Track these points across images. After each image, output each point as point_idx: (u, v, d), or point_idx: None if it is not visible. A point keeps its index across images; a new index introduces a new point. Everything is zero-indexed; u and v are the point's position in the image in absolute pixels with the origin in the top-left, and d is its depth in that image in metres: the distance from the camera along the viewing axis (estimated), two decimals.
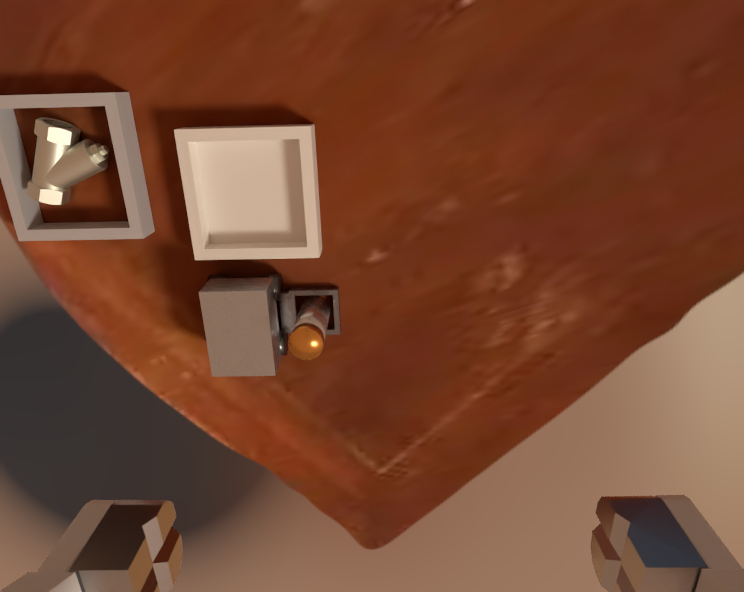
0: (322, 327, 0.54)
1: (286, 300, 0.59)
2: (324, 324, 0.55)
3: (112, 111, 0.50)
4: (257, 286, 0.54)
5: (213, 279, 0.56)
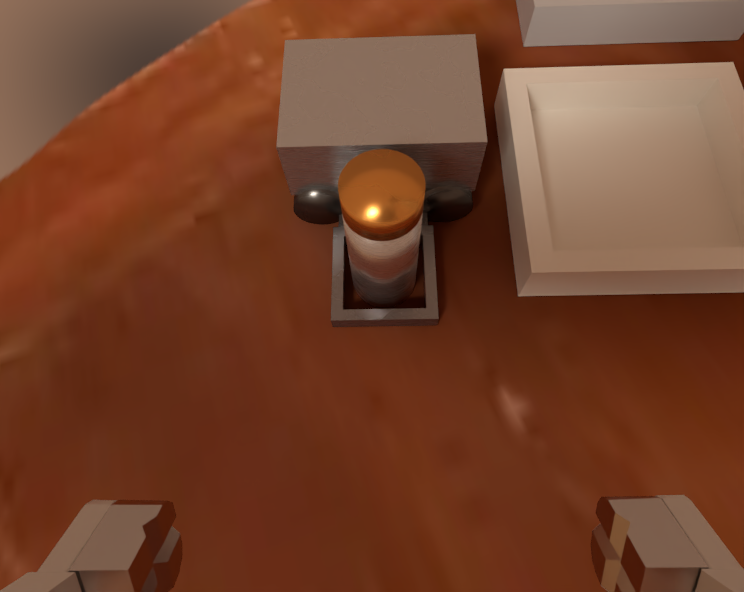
0: (401, 246, 0.22)
1: None
2: (397, 259, 0.23)
3: None
4: None
5: None
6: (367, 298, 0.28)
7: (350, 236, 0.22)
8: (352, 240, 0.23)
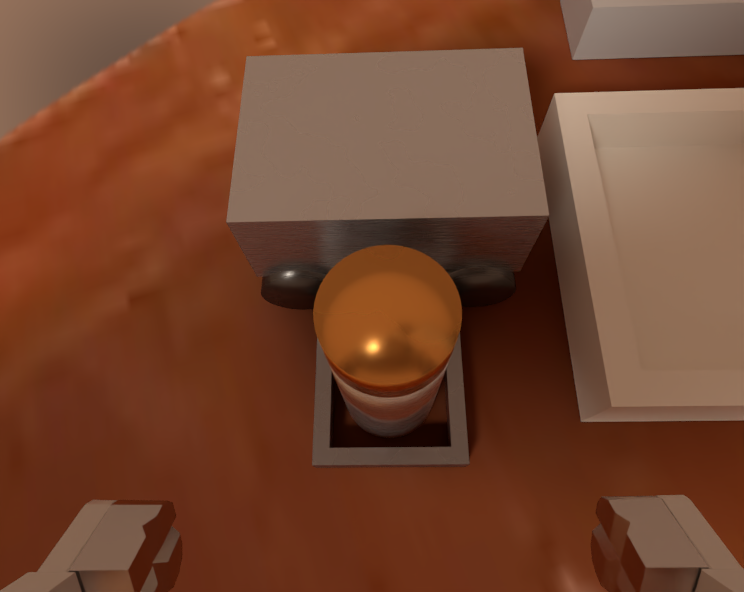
0: (418, 397, 0.14)
1: None
2: (412, 406, 0.15)
3: None
4: None
5: None
6: (366, 428, 0.19)
7: (336, 378, 0.14)
8: (339, 383, 0.14)
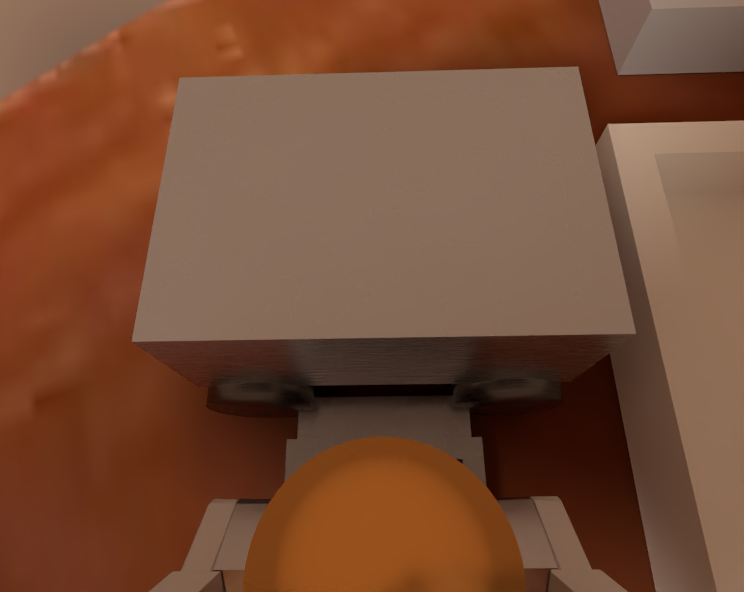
0: None
1: (439, 424, 0.15)
2: None
3: None
4: None
5: None
6: None
7: None
8: None
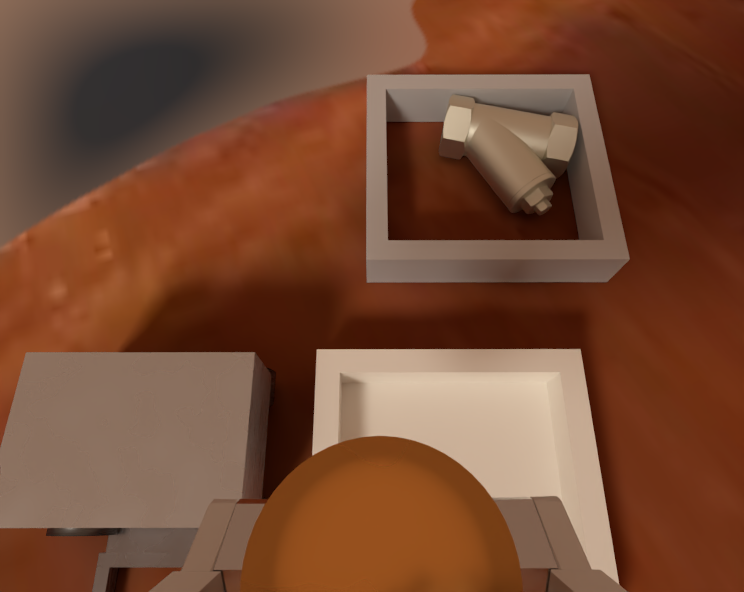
0: None
1: None
2: None
3: (596, 250, 0.28)
4: (249, 495, 0.21)
5: (269, 382, 0.26)
6: None
7: None
8: None
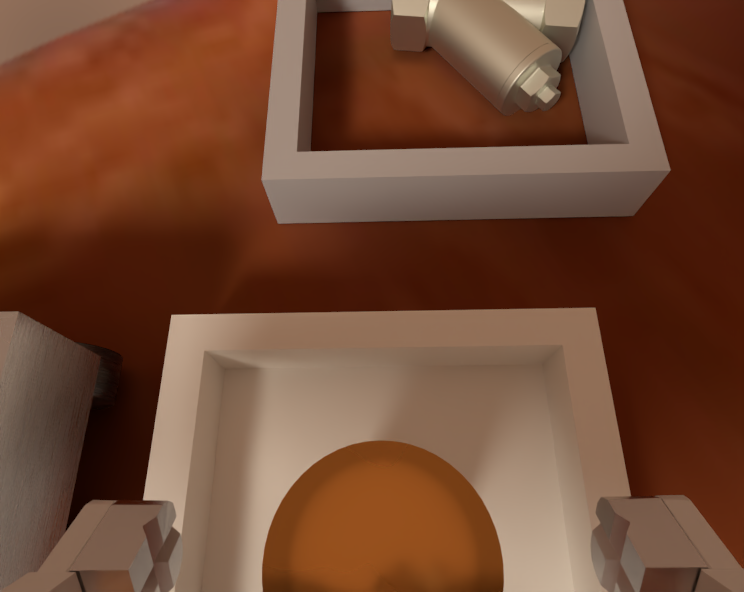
0: None
1: None
2: None
3: (618, 158, 0.18)
4: None
5: (92, 368, 0.16)
6: None
7: None
8: None
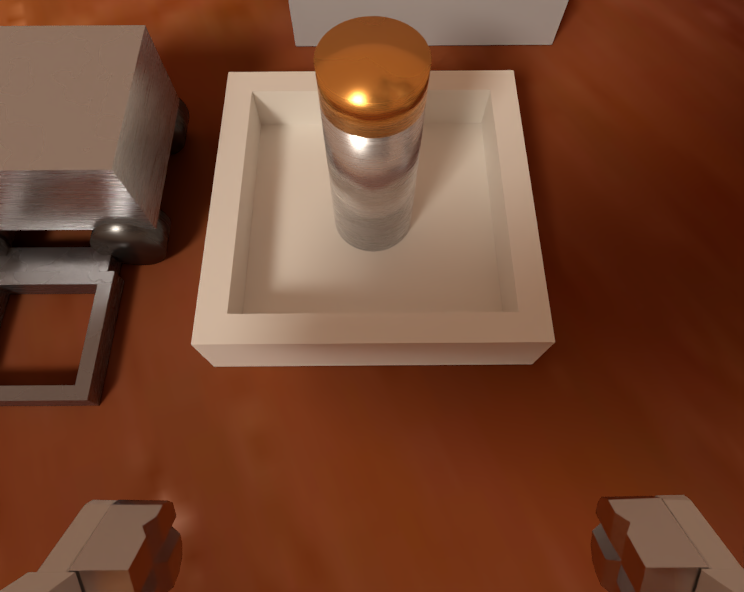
0: (397, 151, 0.17)
1: (88, 264, 0.23)
2: (391, 172, 0.18)
3: None
4: (133, 164, 0.19)
5: (175, 102, 0.24)
6: (352, 237, 0.22)
7: (330, 137, 0.17)
8: (333, 143, 0.17)
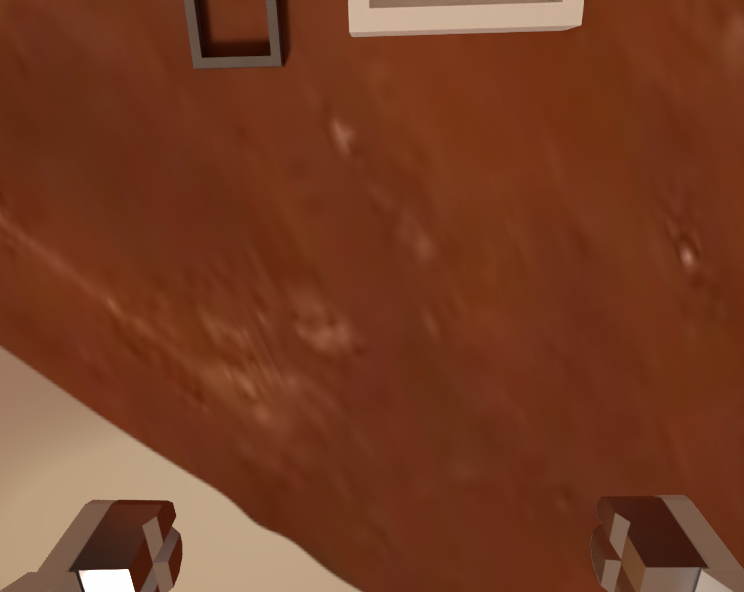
0: None
1: None
2: None
3: None
4: None
5: None
6: None
7: None
8: None
